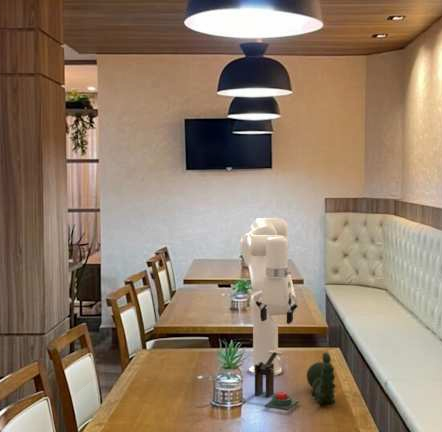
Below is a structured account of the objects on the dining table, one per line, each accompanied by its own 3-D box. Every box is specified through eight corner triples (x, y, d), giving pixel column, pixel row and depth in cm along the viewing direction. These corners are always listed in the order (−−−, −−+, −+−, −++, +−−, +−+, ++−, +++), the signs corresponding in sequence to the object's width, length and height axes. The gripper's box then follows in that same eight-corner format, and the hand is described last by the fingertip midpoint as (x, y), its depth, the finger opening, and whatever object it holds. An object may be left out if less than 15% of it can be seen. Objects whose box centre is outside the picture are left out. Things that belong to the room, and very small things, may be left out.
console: (276, 402, 220) (276, 391, 220) (298, 405, 217) (298, 395, 216) (264, 410, 212) (264, 399, 212) (287, 414, 208) (287, 403, 208)
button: (279, 396, 216) (279, 391, 216) (288, 398, 215) (288, 392, 215) (275, 399, 213) (275, 394, 213) (284, 400, 212) (284, 395, 212)
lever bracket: (259, 392, 231) (259, 358, 230) (283, 395, 227) (283, 361, 226) (244, 402, 220) (244, 367, 219) (269, 406, 216) (269, 370, 216)
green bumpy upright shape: (342, 415, 212) (330, 385, 237) (343, 359, 210) (331, 334, 234) (312, 416, 212) (304, 385, 237) (313, 359, 209) (304, 334, 234)
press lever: (270, 353, 233) (269, 347, 233) (283, 355, 231) (282, 349, 230) (256, 374, 223) (255, 368, 223) (270, 375, 221) (268, 369, 220)
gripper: (303, 273, 230) (303, 322, 231) (258, 270, 238) (258, 317, 238) (295, 275, 223) (295, 326, 224) (249, 272, 231) (249, 321, 232)
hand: (276, 321), depth 231 cm, fingers open, 9 cm apart
